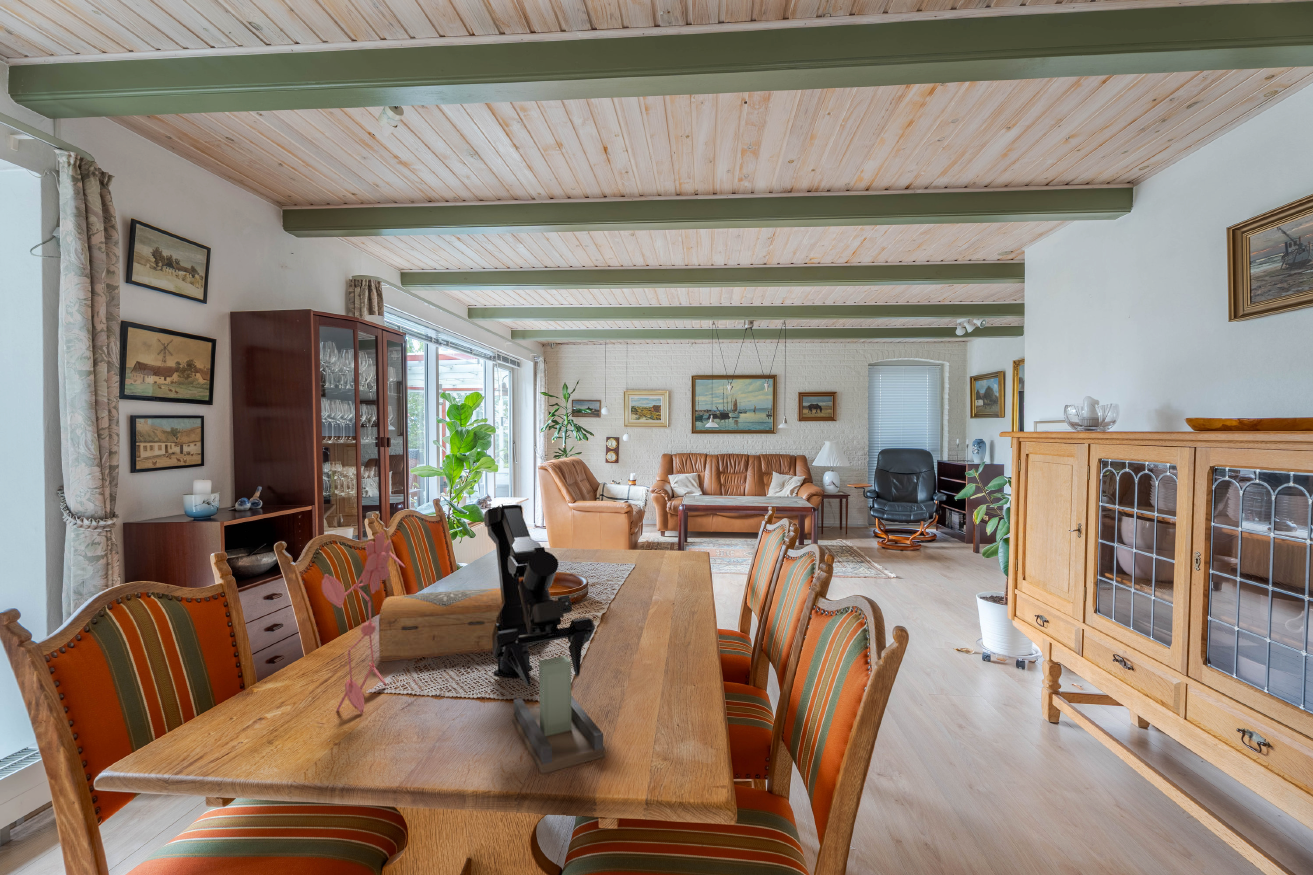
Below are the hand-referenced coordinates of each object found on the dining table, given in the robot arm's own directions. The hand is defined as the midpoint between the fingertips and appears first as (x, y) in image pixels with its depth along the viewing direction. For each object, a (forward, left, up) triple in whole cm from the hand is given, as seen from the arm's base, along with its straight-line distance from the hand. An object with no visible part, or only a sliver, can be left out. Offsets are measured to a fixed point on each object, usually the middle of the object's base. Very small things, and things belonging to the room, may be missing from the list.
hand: (554, 680), depth 108 cm
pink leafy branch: (-41, 0, -10) cm, 43 cm away
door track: (+1, 0, -10) cm, 10 cm away
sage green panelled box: (+1, 0, -9) cm, 9 cm away
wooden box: (-51, +30, -11) cm, 60 cm away
